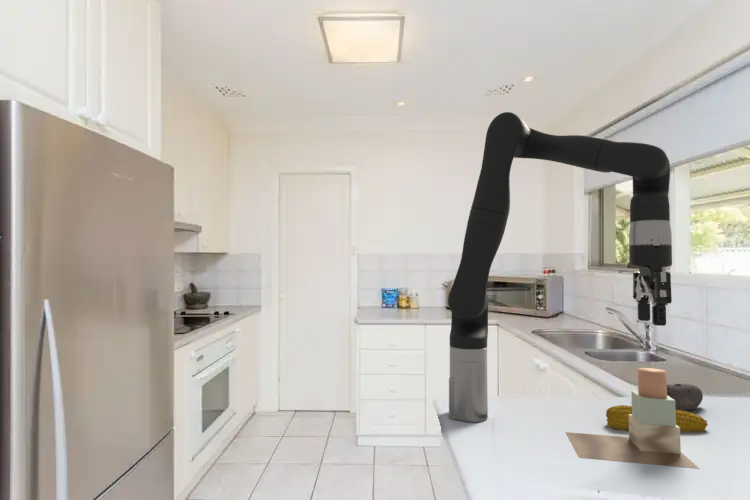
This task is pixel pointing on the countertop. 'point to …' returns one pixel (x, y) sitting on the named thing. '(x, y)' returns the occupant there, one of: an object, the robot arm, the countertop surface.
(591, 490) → the countertop surface
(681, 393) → the perforated stone tool
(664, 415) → the top block
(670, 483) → the countertop surface
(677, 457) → the board
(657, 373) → the peach rounded cylinder
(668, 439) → the base block
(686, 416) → the food
